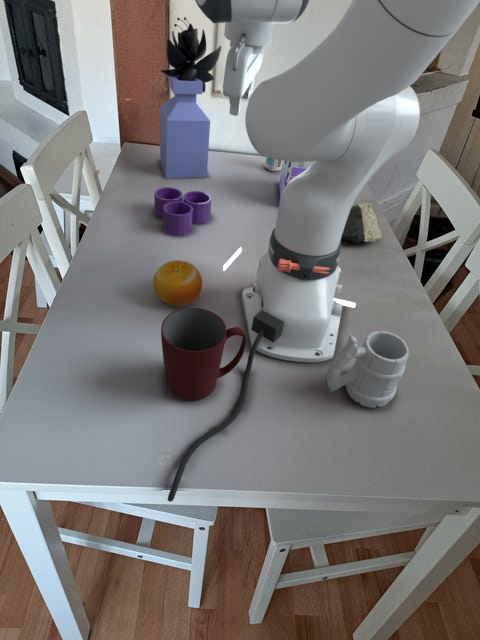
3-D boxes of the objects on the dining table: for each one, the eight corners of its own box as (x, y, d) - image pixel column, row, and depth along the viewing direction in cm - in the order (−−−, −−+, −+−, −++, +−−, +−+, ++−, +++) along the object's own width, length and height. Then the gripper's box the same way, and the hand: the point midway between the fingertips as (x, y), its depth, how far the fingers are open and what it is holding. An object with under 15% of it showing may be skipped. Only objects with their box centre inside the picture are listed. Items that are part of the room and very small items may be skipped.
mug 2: (401, 407, 72) (430, 352, 64) (329, 415, 69) (350, 358, 61) (380, 370, 77) (404, 315, 69) (312, 376, 74) (330, 320, 67)
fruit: (137, 276, 83) (162, 250, 79) (173, 274, 90) (197, 250, 85) (156, 317, 81) (183, 293, 77) (191, 312, 88) (217, 290, 83)
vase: (207, 158, 133) (216, 14, 110) (217, 176, 125) (229, 24, 102) (157, 159, 130) (155, 9, 107) (164, 178, 121) (163, 20, 98)
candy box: (304, 210, 116) (318, 144, 105) (280, 208, 116) (292, 141, 105) (299, 185, 127) (312, 123, 116) (278, 183, 126) (288, 120, 115)
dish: (189, 237, 101) (190, 217, 98) (161, 233, 101) (160, 213, 98) (193, 223, 106) (194, 203, 103) (166, 219, 106) (166, 199, 103)
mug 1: (234, 357, 76) (242, 305, 69) (245, 400, 69) (255, 348, 62) (159, 362, 73) (158, 308, 66) (163, 408, 67) (163, 354, 60)
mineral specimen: (393, 224, 103) (332, 222, 98) (380, 252, 107) (321, 251, 103) (368, 195, 111) (311, 192, 107) (357, 222, 116) (302, 220, 112)
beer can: (281, 166, 135) (288, 123, 127) (280, 173, 131) (288, 129, 123) (265, 164, 135) (271, 121, 127) (264, 170, 131) (270, 127, 124)
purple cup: (179, 222, 106) (179, 201, 102) (152, 218, 106) (151, 198, 102) (184, 208, 110) (184, 189, 107) (157, 205, 110) (157, 185, 107)
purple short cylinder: (208, 225, 106) (209, 205, 103) (180, 222, 106) (181, 202, 102) (211, 212, 110) (212, 193, 107) (185, 209, 110) (185, 189, 107)
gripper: (254, 47, 78) (243, 128, 88) (274, 19, 93) (263, 92, 102) (218, 39, 79) (211, 121, 88) (243, 13, 93) (235, 86, 103)
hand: (239, 105), depth 95 cm, fingers open, 8 cm apart
